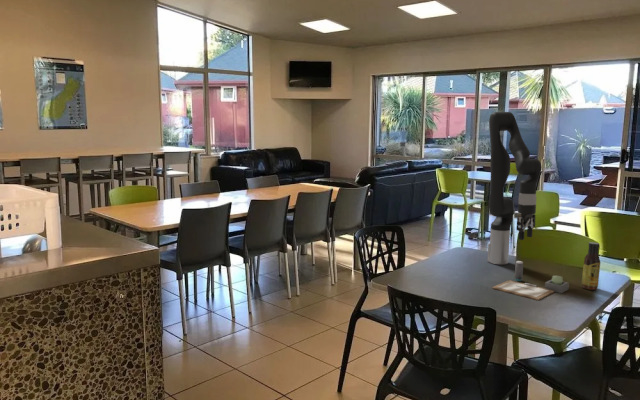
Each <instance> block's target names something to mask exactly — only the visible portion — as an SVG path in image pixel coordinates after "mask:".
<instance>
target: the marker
mask: <svg viewBox="0 0 640 400" xmlns="http://www.w3.org/2000/svg"><path fill="white" fill-rule="evenodd" d="M514 267H515V268H514V269H515V270H514V279H515V280H514V281H515V282H522V281H523V272H524V262H523V261H521V260H516V262H515V266H514Z"/></svg>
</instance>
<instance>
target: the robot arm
mask: <svg viewBox="0 0 640 400" xmlns="http://www.w3.org/2000/svg"><path fill="white" fill-rule="evenodd" d="M517 123H518V122H517V119H516V117H515V115H514V113H513V112H511V111H494V112H492V113H490V115H489V120H488V127H489V128H488V129H489V139H490V190H489V199H488V211H489V214H491V216H493V217H495V219H494V220H493V221H492V222H491V223H490V234H489V235H490V237H489V242H488V245H487V258H486V259H487V261H486V262H488V263H491V264H492V265H501V266H502V265H508V264H509V258H510V257H509V255H510V240H511V239H510V238H511V226H512V224H513V220H514V219H513V218H514V210H515V208H514V206H515V205H514V202H513V200H512V199H511V197H510V198H509V197H508V196H505V195H504V190H505V185H506V183H507V180H508V178H509V176H510V172H511V156H510V154H509V152H508V150H507V149H506V147H505V146H504V144H503V142H502V140H501V132H505V131H506V132H508V133H509V134H510V138H509V142H508V147H509V151H510V152H511V154H512V156H513V159H514V162H515V169H516V171H517V173H518V174H520V175H522V176H528V177H527V178H526V179H523V180H520V182H519V192H518V194H519V195H518V201H517V202H518V205H517V212H518V214H520V215H521V216H520V217H518V216H517V219H516V231H518V240H519V241H524V240H525V230H526V237H527V238H532V237H533V232H534V231H533V229H534V228H536V212H537V185H538V181H539V177H540V176H541V173H542V168H543V167H542V163H541V161H540V160H539V159H535V158H530V157H531V156H530V155H531V152H530V150H529V148H528V147H527V145H526V143H525V141H524V140H523V137H522V135H521V132H520V128H519V125H518V124H517Z"/></svg>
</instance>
